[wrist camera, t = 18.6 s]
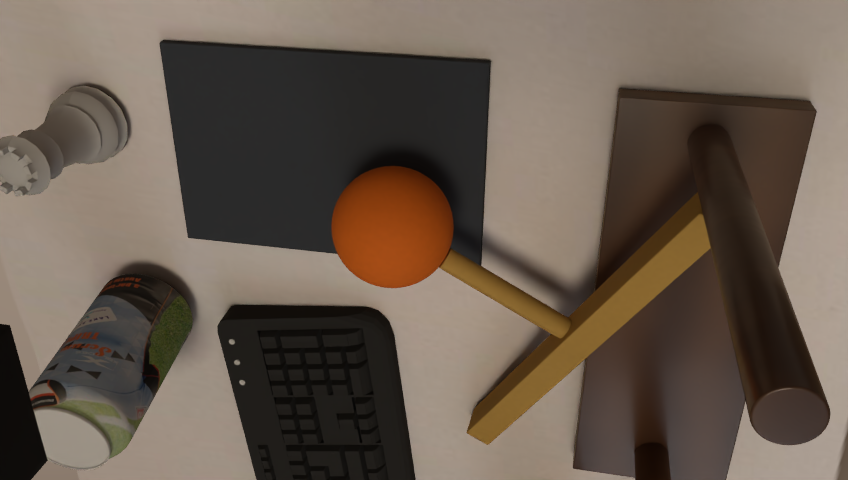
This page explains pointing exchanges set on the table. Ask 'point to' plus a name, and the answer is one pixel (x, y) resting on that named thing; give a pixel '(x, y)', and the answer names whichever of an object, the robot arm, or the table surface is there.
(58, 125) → the rook chess piece
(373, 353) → the keyboard
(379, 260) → the ball on t-bar
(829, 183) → the table surface
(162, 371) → the beverage can
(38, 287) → the table surface
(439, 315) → the table surface
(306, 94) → the slate mat
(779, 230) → the hanger rack
